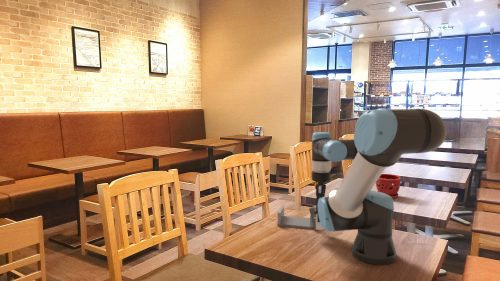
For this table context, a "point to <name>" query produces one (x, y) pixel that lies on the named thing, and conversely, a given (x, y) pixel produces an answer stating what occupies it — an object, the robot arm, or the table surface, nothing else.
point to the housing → (293, 220)
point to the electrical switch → (313, 215)
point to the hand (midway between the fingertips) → (320, 224)
